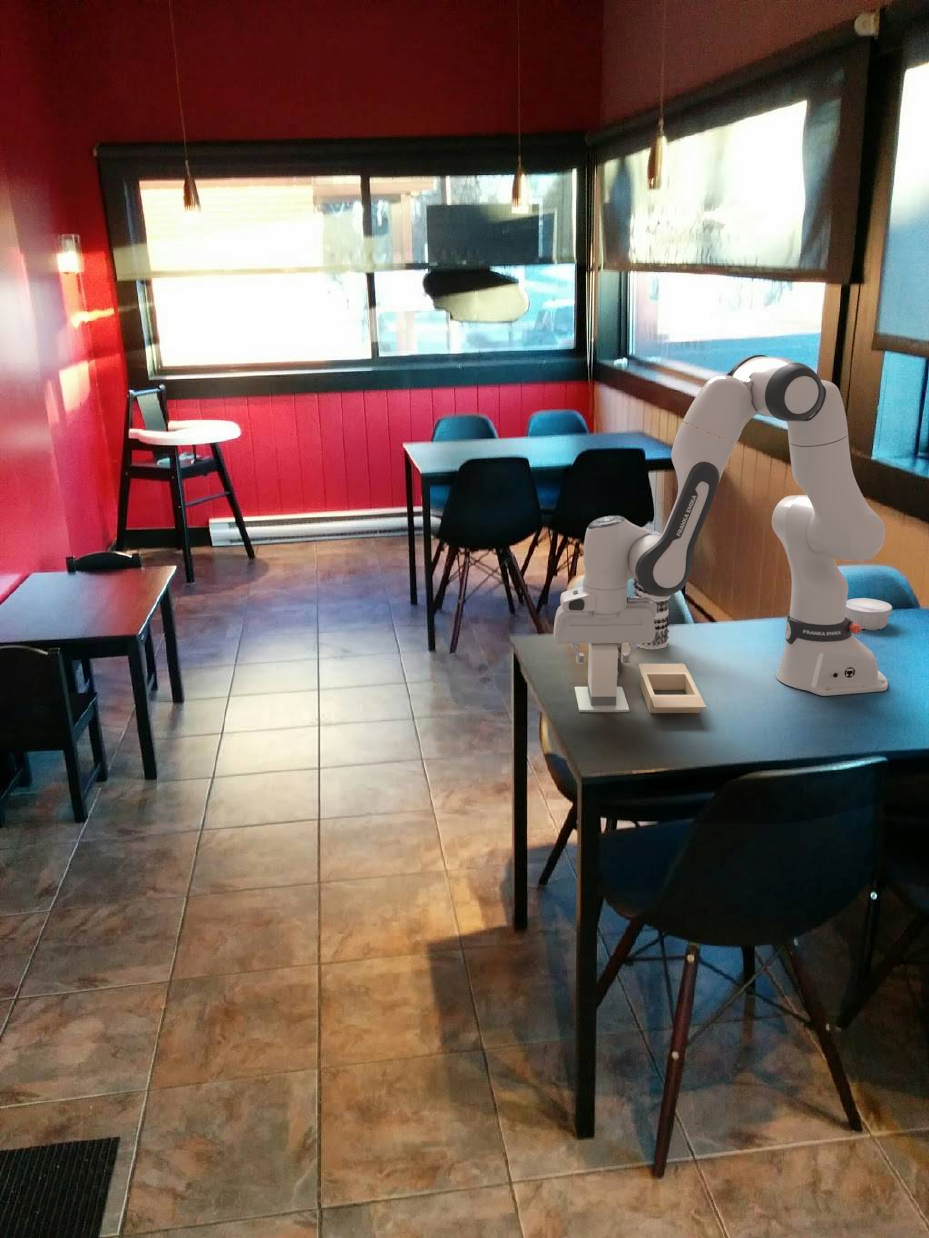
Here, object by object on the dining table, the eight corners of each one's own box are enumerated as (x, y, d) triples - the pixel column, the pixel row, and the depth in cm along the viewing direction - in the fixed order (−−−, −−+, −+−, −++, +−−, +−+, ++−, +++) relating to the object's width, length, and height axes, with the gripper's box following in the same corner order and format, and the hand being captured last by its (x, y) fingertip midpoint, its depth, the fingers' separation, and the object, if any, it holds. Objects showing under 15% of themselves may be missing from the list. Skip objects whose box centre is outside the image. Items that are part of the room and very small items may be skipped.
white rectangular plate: (621, 688, 211) (621, 686, 211) (629, 711, 200) (629, 709, 200) (574, 688, 211) (574, 686, 211) (579, 712, 200) (579, 709, 200)
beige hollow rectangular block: (683, 678, 216) (684, 663, 215) (705, 723, 194) (706, 706, 193) (637, 678, 216) (637, 663, 215) (653, 723, 194) (654, 706, 193)
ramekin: (846, 631, 244) (848, 610, 242) (837, 616, 254) (840, 597, 253) (894, 633, 242) (897, 612, 240) (884, 618, 253) (886, 598, 251)
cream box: (611, 690, 209) (613, 636, 205) (616, 705, 202) (618, 650, 198) (587, 690, 209) (589, 636, 205) (591, 705, 202) (592, 650, 198)
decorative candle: (623, 645, 236) (627, 542, 228) (640, 634, 243) (644, 534, 235) (659, 652, 231) (664, 548, 223) (675, 641, 239) (681, 539, 231)
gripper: (655, 592, 201) (652, 656, 206) (553, 593, 202) (552, 657, 206) (659, 601, 195) (657, 667, 200) (555, 603, 196) (554, 668, 200)
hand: (603, 662), depth 203 cm, fingers open, 8 cm apart
